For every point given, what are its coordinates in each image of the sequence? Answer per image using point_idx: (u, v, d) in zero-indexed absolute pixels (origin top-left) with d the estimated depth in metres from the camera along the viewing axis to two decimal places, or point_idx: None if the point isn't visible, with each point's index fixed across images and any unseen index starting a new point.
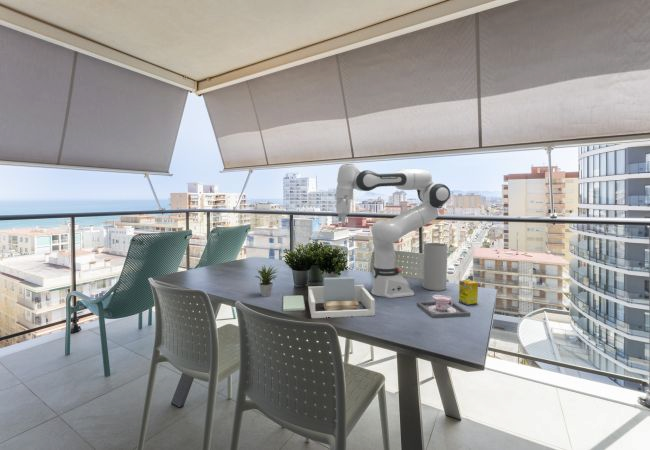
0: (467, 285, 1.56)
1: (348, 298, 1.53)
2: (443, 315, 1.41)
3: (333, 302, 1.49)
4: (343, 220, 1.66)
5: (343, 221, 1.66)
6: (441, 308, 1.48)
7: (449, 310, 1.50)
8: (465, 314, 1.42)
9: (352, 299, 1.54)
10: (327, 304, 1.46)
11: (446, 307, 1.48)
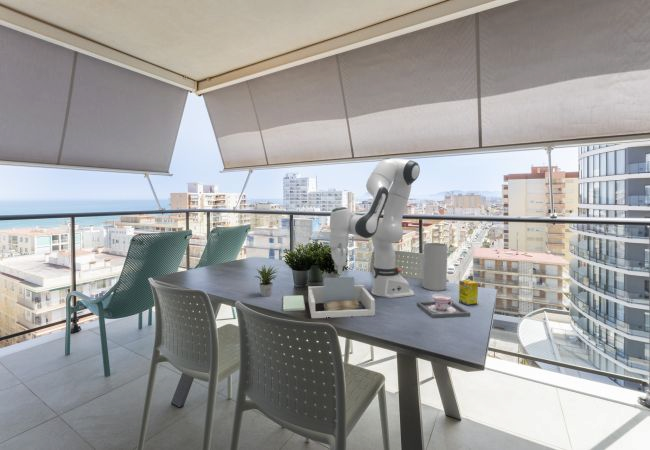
0: (467, 285, 1.56)
1: (348, 298, 1.53)
2: (443, 315, 1.41)
3: (333, 302, 1.49)
4: (340, 272, 1.48)
5: (340, 273, 1.48)
6: (441, 307, 1.49)
7: (449, 309, 1.51)
8: (465, 314, 1.42)
9: (352, 299, 1.54)
10: (328, 304, 1.46)
11: (446, 306, 1.49)
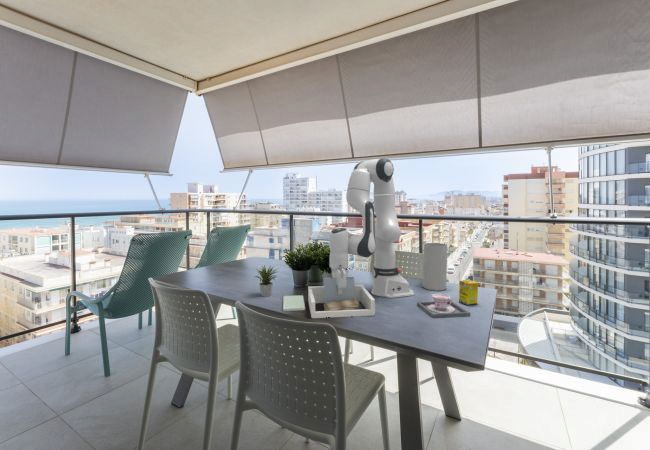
0: (467, 285, 1.56)
1: (348, 298, 1.53)
2: (443, 315, 1.41)
3: (333, 302, 1.48)
4: (340, 291, 1.51)
5: (340, 292, 1.51)
6: (440, 307, 1.50)
7: (448, 309, 1.52)
8: (465, 314, 1.42)
9: (352, 299, 1.54)
10: (328, 305, 1.45)
11: (445, 306, 1.50)
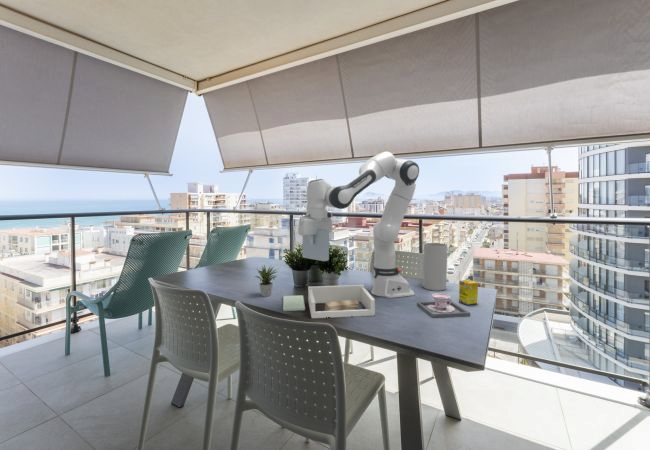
0: (467, 285, 1.56)
1: (319, 250, 1.51)
2: (443, 315, 1.41)
3: (333, 302, 1.48)
4: (311, 241, 1.52)
5: (311, 242, 1.52)
6: (440, 306, 1.50)
7: (448, 308, 1.52)
8: (465, 314, 1.42)
9: (323, 252, 1.50)
10: (328, 305, 1.45)
11: (445, 305, 1.50)
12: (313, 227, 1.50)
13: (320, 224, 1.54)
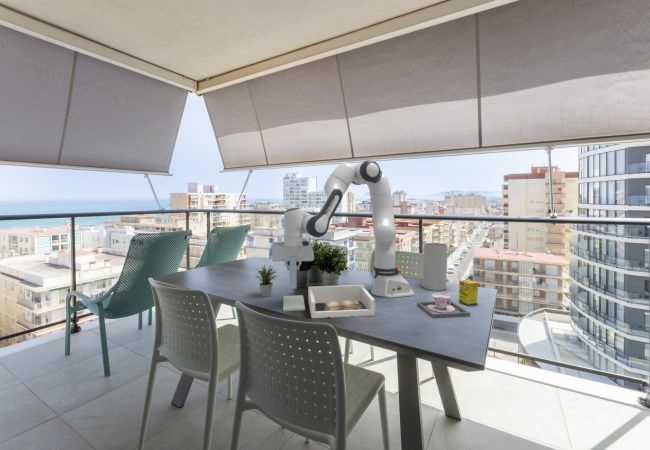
0: (467, 285, 1.56)
1: None
2: (443, 315, 1.41)
3: (333, 302, 1.48)
4: None
5: None
6: (439, 306, 1.50)
7: (448, 308, 1.52)
8: (465, 314, 1.42)
9: None
10: (328, 305, 1.45)
11: (445, 305, 1.50)
12: (285, 254, 1.56)
13: (295, 252, 1.57)
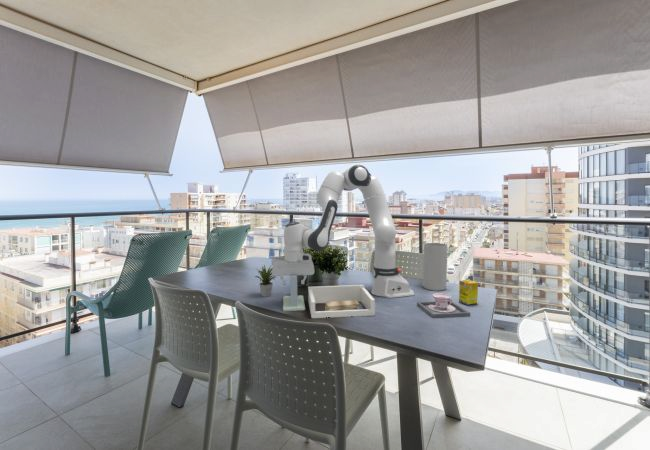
0: (467, 285, 1.56)
1: None
2: (443, 315, 1.41)
3: (333, 302, 1.48)
4: None
5: None
6: (440, 306, 1.50)
7: (449, 308, 1.52)
8: (465, 314, 1.42)
9: None
10: (328, 305, 1.45)
11: (445, 305, 1.50)
12: (286, 269, 1.57)
13: (296, 266, 1.57)
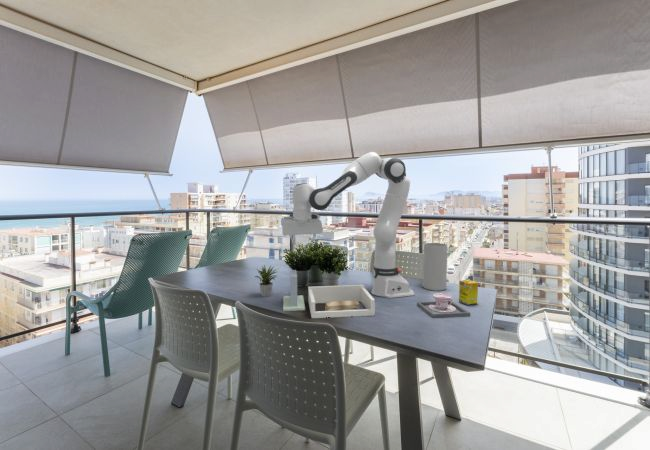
0: (467, 285, 1.56)
1: None
2: (443, 315, 1.41)
3: (333, 302, 1.49)
4: (292, 241, 1.65)
5: (292, 242, 1.65)
6: (441, 306, 1.50)
7: (449, 308, 1.52)
8: (465, 314, 1.42)
9: None
10: (328, 304, 1.46)
11: (446, 305, 1.50)
12: (295, 228, 1.63)
13: (305, 225, 1.64)
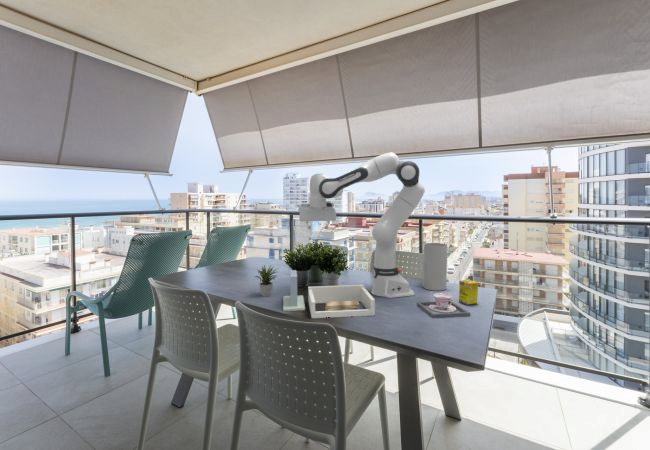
0: (467, 285, 1.56)
1: None
2: (443, 315, 1.41)
3: (333, 302, 1.49)
4: None
5: None
6: (441, 306, 1.50)
7: (449, 308, 1.52)
8: (465, 314, 1.42)
9: None
10: (328, 304, 1.46)
11: (446, 305, 1.50)
12: (311, 214, 1.78)
13: (320, 212, 1.79)
